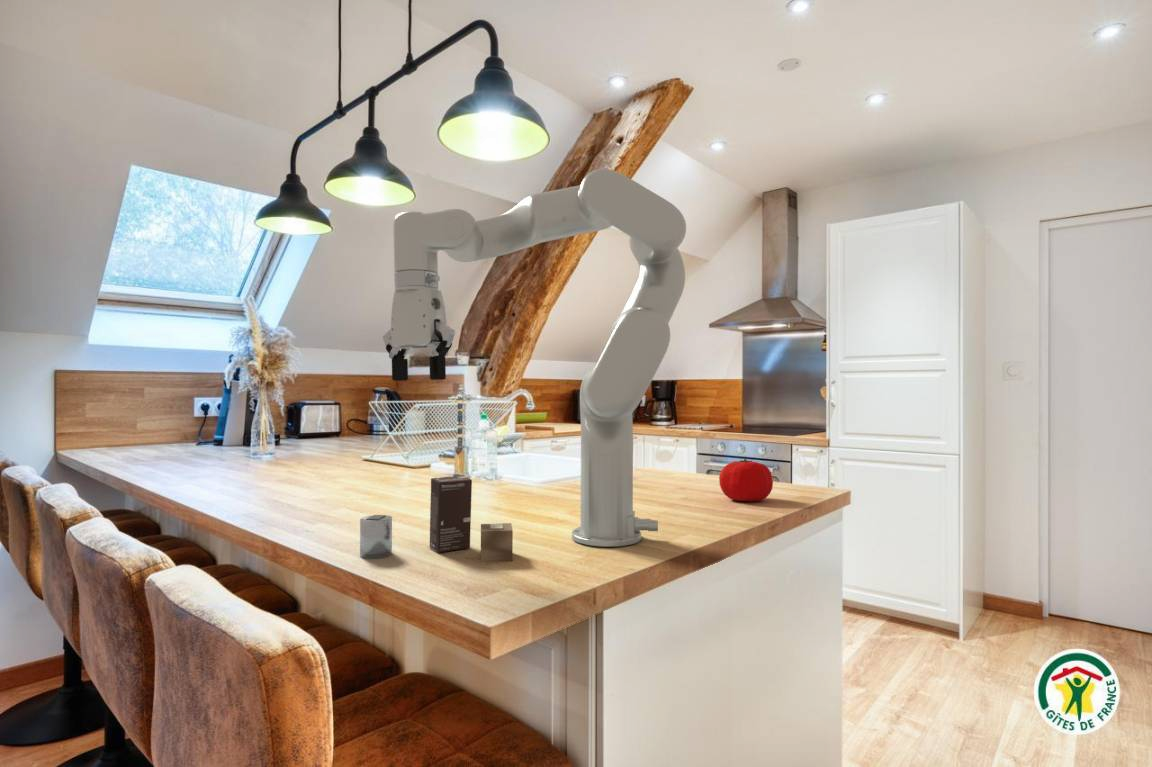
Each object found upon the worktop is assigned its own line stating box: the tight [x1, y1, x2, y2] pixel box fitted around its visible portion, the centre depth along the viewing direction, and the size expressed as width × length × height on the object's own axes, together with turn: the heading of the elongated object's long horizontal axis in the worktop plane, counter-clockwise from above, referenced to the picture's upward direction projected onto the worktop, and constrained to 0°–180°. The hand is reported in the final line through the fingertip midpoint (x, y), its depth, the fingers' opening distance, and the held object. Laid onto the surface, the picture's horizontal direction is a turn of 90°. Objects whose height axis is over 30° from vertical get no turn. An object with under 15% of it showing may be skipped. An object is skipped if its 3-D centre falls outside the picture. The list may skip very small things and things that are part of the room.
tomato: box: [718, 458, 774, 502], centre depth 149 cm, size 11×13×10 cm
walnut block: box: [480, 522, 514, 563], centre depth 100 cm, size 5×5×5 cm
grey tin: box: [359, 514, 393, 560], centre depth 101 cm, size 5×5×6 cm
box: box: [429, 475, 473, 554], centre depth 105 cm, size 6×4×12 cm
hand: (418, 380), depth 110 cm, fingers open, 9 cm apart
